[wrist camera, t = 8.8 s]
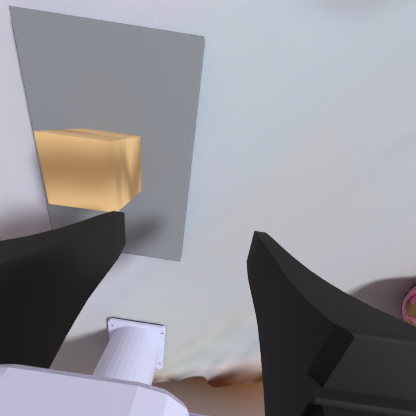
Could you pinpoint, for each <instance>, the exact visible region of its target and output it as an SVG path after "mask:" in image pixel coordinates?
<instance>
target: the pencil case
mask: <svg viewBox="0 0 416 416" xmlns="http://www.w3.org/2000/svg"><path fill="white" fill-rule="evenodd" d="M402 314H403V318H404V321H405V322H406V323H409V324H411V325H413V326H415V327H416V286H415V287H414V288H412V289H411V290H410V291H409V292H408V293H407V296H406V297H405V298H404V300H403V303H402Z"/></svg>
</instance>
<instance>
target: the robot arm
mask: <svg viewBox="0 0 416 416" xmlns="http://www.w3.org/2000/svg"><path fill="white" fill-rule="evenodd" d="M125 244H126V236H125V213H124V212H118V211H111V212H107V213H104V214H100V215H97V216H94V217H92V218H89V219H86V220H83V221H80V222H77V223H74V224H70V225H67V226H64V227H61V228H58V229H54V230H51V231H47V232H43V233H39V234H34V235H30V236H26V237H20V238H15V239H9V240H4V241H0V416H207V415H201V414H194V413H188V410H187V408H186V406H185V405H184V403H183V402H182V401H180V400H179V399H178V398H176V397H175V396H173V395H172V394H171V393H169V392H168V391H167V390H165V389H161V388H158V387H154V386H151V384H152V380H153V376H154V372H155V369H161V368H162V366H163V356H164V345H165V334H166V328H165V327H164V326H160V325H154V324H147V323H141V322H134V321H128V320H122V319H115V318H110V319H109V320H108V330H109V343H108V345H107V347H106V349H105V351H104V352H103V354H102V356H101V358H100V360H99V362H98V364H97V366H96V368H95V370H94V372H93V374H92V375H87V374H80V373H73V372H66V371H59V370H53V369H49V367H50V365H51V364H52V362H53V360H54V358H55V356H56V354H57V352H58V350H59V348H60V347H61V345H62V343H63V341H64V339H65V337H66V336H67V334H68V332H69V330H70V329H71V327H72V325H73V323H74V322H75V320H76V318H77V316H78V315H79V313H80V311H81V310H82V308H83V306H84V305H85V303H86V301H87V300H88V298H89V297H90V296H91V294H92V293H93V291H94V290H95V289H96V287H97V286H98V285H99V283H100V282H101V281H102V279H103V278H104V277H105V275H106V274H107V273H108V271H109V270H110V269H111V267H112V266H113V265H114V263H115V262H116V260H117V259H118V257H119V256H120V254H121V252H122V250H123V248H124V246H125ZM247 272H248V280H249V285H250V290H251V294H252V299H253V304H254V308H255V313H256V318H257V324H258V333H259V342H260V352H261V363H262V375H263V388H264V403H265V416H416V327H415V326H413V325H411V324H409V323H406V322H404V321H402V320H400V319H397V318H395V317H393V316H391V315H388V314H386V313H384V312H382V311H379V310H377V309H375V308H373V307H371V306H369V305H367V304H365V303H363V302H361V301H359V300H357V299H356V298H354V297H352V296H350V295H348V294H346V293H345V292H343V291H341V290H340V289H338V288H336V287H335V286H333V285H331V284H330V283H328V282H326V281H325V280H323V279H322V278H320V277H319V276H317V275H316V274H315V273H313V272H312V271H310V270H309V269H308V268H306V267H305V266H304V265H302V264H301V263H300V262H299V261H297V260H296V259H295V258H294V257H293V256H291V255H290V254H289V253H288V252H287V251H286V250H285V249H283V248H282V247H281V246H280V245H279V244H278V243H277V242H276V241H275V240H274V239H273V238H272V237H270V236H269V235H268V234H267V233H265V232H258V231H254V235H253V239H252V243H251V247H250V251H249V255H248V259H247Z"/></svg>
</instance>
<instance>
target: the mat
mask: <svg viewBox="0 0 416 416" xmlns="http://www.w3.org/2000/svg"><path fill="white" fill-rule="evenodd" d="M9 10H10V15H11V20H12V25H13V30H14V36H15V41H16V46H17V51H18V56H19V61H20V67H21V72H22V77H23V82H24V87H25V92H26V97H27V103H28V108H29V113H30V118H31V123H32V128H33V131H44V130H62V129H81V128H84V129H91V130H99V131H106V132H114V133H121V134H129V135H136V136H141V192H140V193H139V194H137V195H136V196H135V197H134V198H133V199H132V200H131V201H129V202H128V203H127V204H126V205H125V206H124V207H123V208H121V209H120V210H119V211H118V212H124V213H125V236H126V244H125V246H124V248H123V250H122V253H128V254H134V255H141V256H147V257H154V258H160V259H167V260H173V261H179V262H180V259H181V255H182V246H183V237H184V228H185V218H186V209H187V200H188V191H189V182H190V173H191V164H192V155H193V146H194V137H195V128H196V118H197V109H198V100H199V91H200V82H201V73H202V64H203V55H204V46H205V39H204V36H198V35H192V34H185V33H179V32H172V31H166V30H160V29H153V28H147V27H141V26H134V25H128V24H122V23H115V22H109V21H103V20H96V19H90V18H84V17H77V16H71V15H65V14H58V13H52V12H46V11H39V10H33V9H27V8H20V7H14V6H9ZM33 134H34V132H33ZM34 139H35V136H34ZM35 144H36V141H35ZM36 149H37V146H36ZM37 154H38V151H37ZM38 159H39V155H38ZM39 164H40V160H39ZM40 170H41V175H42V180H43V185H44V190H45V195H46V201H47V206H48V211H49V216H50V221H51V226H52V230H54V229H58V228H61V227H64V226H67V225H70V224H74V223H77V222H80V221H83V220H86V219H89V218H92V217H94V216H97V215H100V214H104V213H107V212H106V211H99V210H91V209H84V208H77V207H69V206H62V205H55V204H49V202H48V198H47V193H46V188H45V183H44V179H43V174H42V169H41V165H40Z"/></svg>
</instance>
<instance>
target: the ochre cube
mask: <svg viewBox="0 0 416 416" xmlns="http://www.w3.org/2000/svg"><path fill="white" fill-rule="evenodd" d="M33 132H34V136H35V141H36V146H37V151H38V155H39V160H40V165H41V169H42V174H43V179H44V183H45V188H46V193H47V198H48V202H49V204H55V205H62V206H69V207H77V208H84V209H91V210H99V211H106V212H111V211H119V210H120V209H121V208H123V207H124V206H125V205H126V204H127V203H128V202H129V201H131V200H132V199H133V198H134V197H135V196H136V195H137V194H139V193H140V192H141V136H136V135H129V134H121V133H114V132H106V131H99V130H91V129H84V128H81V129H62V130H44V131H33Z"/></svg>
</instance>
